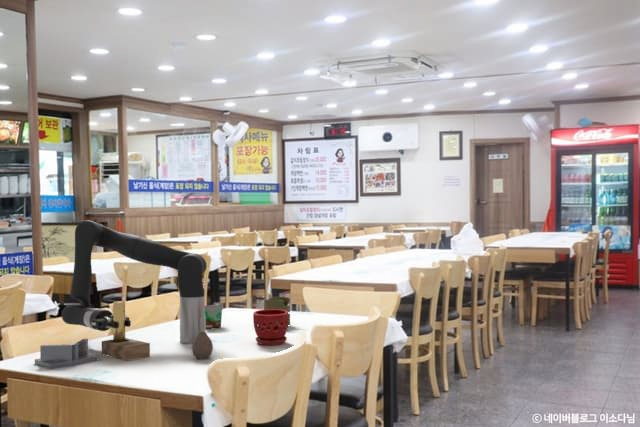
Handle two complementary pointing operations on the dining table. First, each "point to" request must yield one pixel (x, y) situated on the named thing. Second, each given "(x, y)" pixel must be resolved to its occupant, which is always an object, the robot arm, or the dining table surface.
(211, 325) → the food container
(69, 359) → the v block
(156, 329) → the dining table surface
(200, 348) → the vase
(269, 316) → the plant pot
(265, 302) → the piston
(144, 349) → the brown wooden box
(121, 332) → the axle
